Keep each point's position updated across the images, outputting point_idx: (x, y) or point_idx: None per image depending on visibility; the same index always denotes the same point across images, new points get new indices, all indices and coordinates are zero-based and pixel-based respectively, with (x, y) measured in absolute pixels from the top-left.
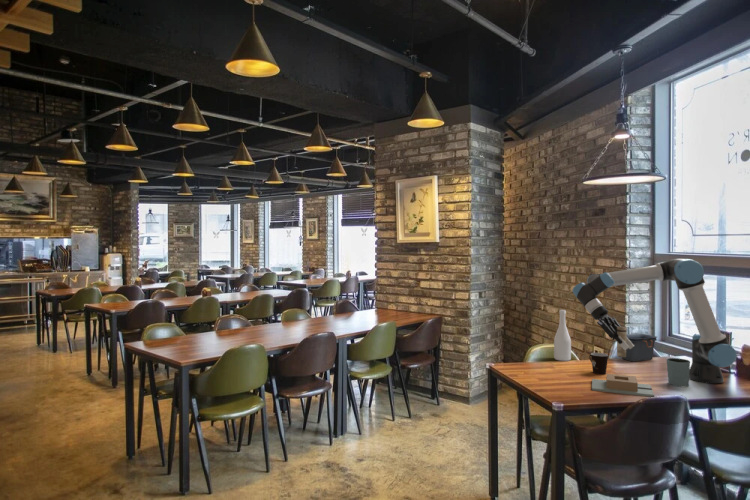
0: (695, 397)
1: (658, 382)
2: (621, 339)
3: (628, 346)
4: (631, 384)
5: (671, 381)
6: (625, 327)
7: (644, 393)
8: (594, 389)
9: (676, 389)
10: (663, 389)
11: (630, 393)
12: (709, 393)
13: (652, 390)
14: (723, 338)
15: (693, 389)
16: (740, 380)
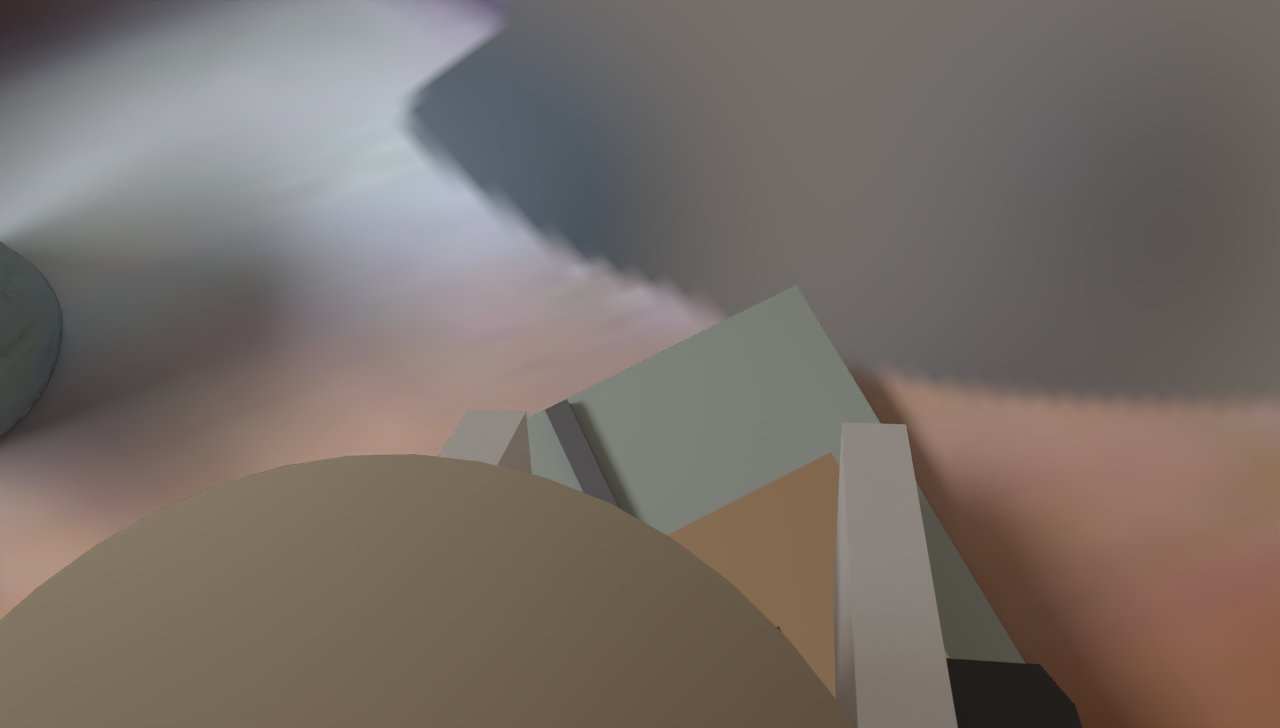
0: (435, 35)
1: (17, 553)
2: (954, 723)
3: (885, 436)
4: None
5: (14, 379)
6: (173, 604)
7: (835, 388)
8: None
9: (232, 274)
10: (340, 369)
11: (945, 541)
12: (169, 16)
13: (598, 383)
14: None
15: (105, 164)
16: None
